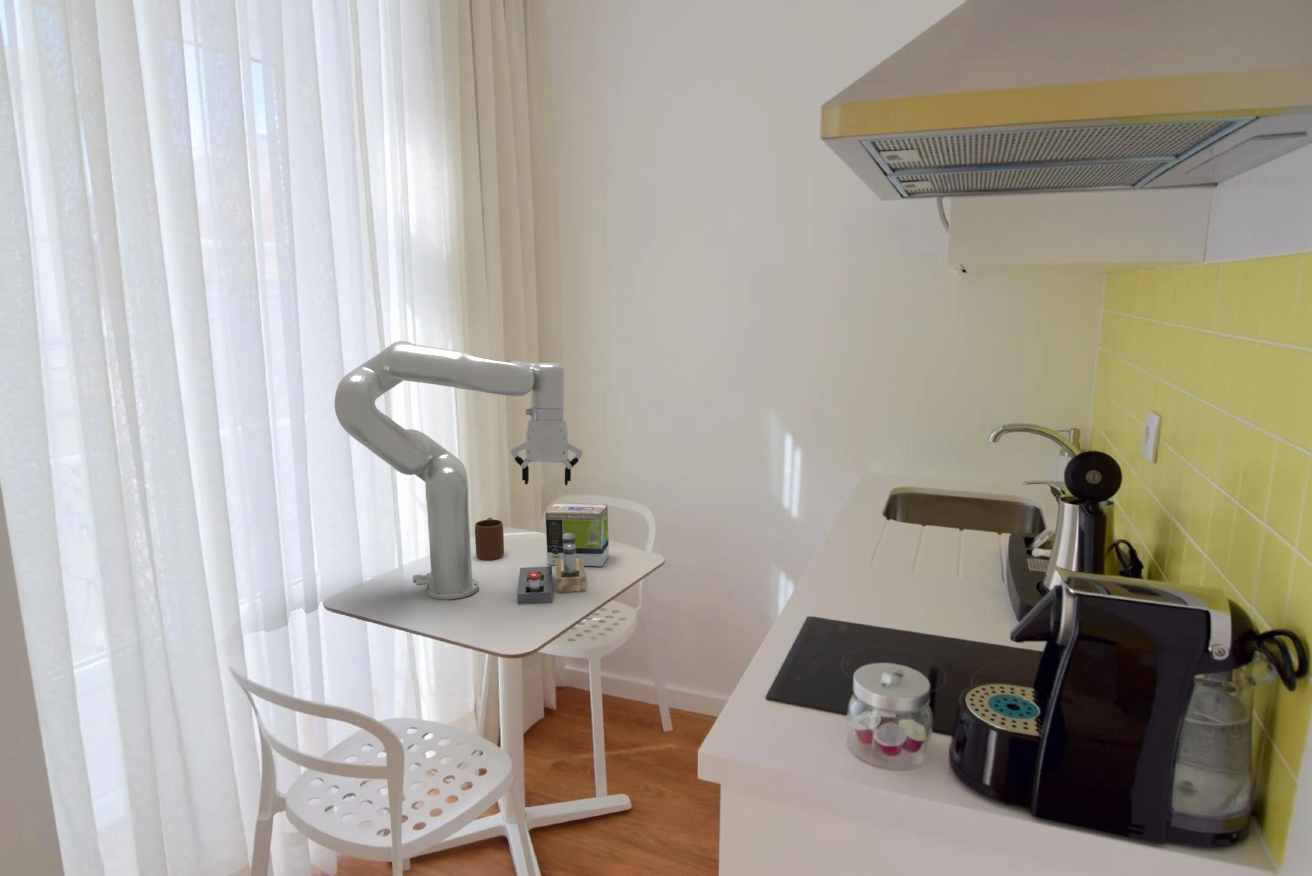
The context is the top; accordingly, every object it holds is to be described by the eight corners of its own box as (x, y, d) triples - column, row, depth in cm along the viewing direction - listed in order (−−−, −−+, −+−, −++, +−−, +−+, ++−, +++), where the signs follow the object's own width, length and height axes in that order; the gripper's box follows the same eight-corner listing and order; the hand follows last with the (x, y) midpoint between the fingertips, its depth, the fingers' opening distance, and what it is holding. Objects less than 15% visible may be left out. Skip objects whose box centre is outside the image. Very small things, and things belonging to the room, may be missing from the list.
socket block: (517, 604, 182) (517, 594, 182) (520, 577, 200) (520, 567, 199) (552, 602, 183) (551, 592, 183) (552, 575, 201) (552, 566, 200)
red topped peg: (527, 597, 183) (526, 576, 182) (527, 592, 186) (527, 571, 185) (542, 597, 183) (541, 575, 182) (542, 591, 187) (541, 570, 186)
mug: (477, 547, 223) (476, 515, 221) (504, 546, 224) (503, 514, 223) (475, 561, 211) (473, 527, 210) (504, 559, 213) (502, 526, 211)
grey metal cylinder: (564, 590, 191) (563, 546, 189) (563, 585, 194) (562, 542, 192) (576, 589, 191) (575, 546, 189) (576, 585, 194) (575, 542, 192)
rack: (556, 592, 189) (555, 549, 187) (556, 572, 203) (555, 531, 201) (585, 591, 190) (584, 547, 188) (583, 571, 203) (582, 530, 202)
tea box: (609, 555, 216) (608, 503, 213) (601, 568, 206) (600, 513, 204) (556, 553, 218) (554, 501, 215) (546, 565, 208) (544, 511, 206)
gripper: (509, 415, 185) (509, 486, 188) (583, 417, 186) (581, 488, 189) (512, 411, 192) (512, 479, 195) (583, 413, 194) (582, 481, 197)
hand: (546, 483), depth 192 cm, fingers open, 9 cm apart
